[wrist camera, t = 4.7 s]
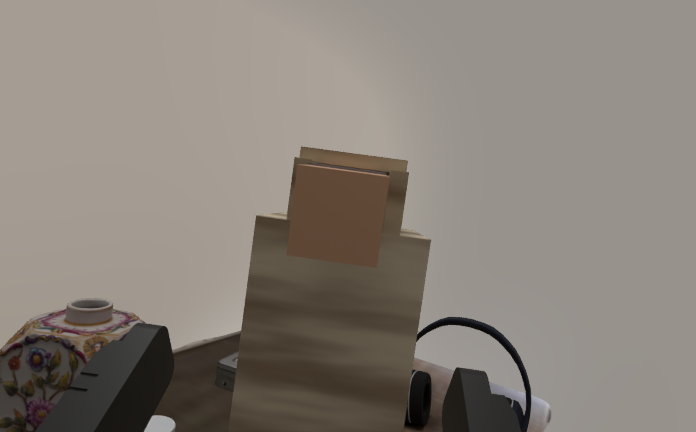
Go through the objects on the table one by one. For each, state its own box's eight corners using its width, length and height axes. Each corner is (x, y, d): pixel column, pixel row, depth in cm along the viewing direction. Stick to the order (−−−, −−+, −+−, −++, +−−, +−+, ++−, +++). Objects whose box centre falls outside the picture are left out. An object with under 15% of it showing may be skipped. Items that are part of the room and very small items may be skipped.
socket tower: (365, 690, 30) (442, 161, 28) (198, 661, 30) (266, 138, 29) (365, 567, 40) (421, 172, 38) (239, 546, 40) (291, 155, 39)
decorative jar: (147, 433, 55) (163, 299, 55) (84, 494, 44) (104, 324, 43) (62, 417, 56) (78, 285, 56) (-21, 472, 45) (-3, 306, 44)
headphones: (386, 422, 67) (402, 309, 66) (400, 406, 73) (415, 302, 72) (521, 472, 58) (541, 343, 57) (523, 449, 64) (542, 331, 64)
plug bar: (377, 268, 18) (391, 174, 18) (285, 255, 18) (296, 162, 18) (372, 224, 32) (379, 171, 32) (319, 217, 32) (326, 163, 32)
